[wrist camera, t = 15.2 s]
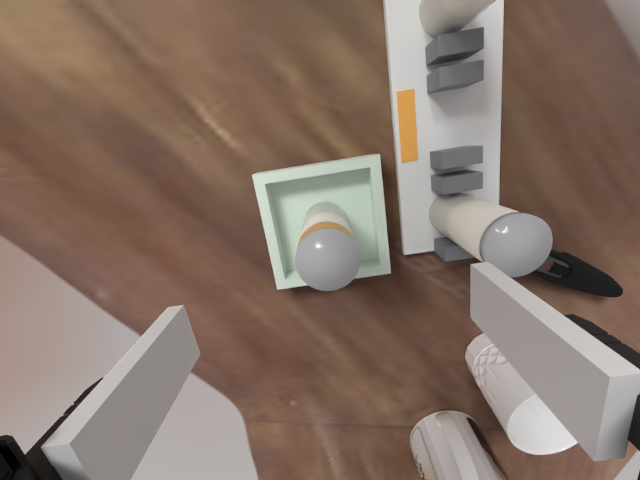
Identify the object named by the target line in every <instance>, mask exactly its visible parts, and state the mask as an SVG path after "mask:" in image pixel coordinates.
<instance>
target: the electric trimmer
mask: <svg viewBox="0 0 640 480" xmlns="http://www.w3.org/2000/svg"><path fill="white" fill-rule="evenodd" d="M531 274H534V275H537V276H540V277H542V278H544V279H545V280H546V281H548V282H551V283H554V284H558V285H561V286H565V287H568V288H572V289H575V290H579V291H583V292H586V293H590V294H594V295H600V296H607V297H619V296H621V295H622V293H623V289H622V288H621V286H620V285H619V284H618V283H617V282H616V281H615V280H614V279H613V278H612V277H610V276H609V275H607V274H605V273H604V272H602V271H600V270H598V269H596V268H594V267H593V266H591V265H589V264H587V263H585V262H584V261H582V260H580V259H578V258H576V257H574V256H572V255H570V254H568V253H565V252H562V253H559V252H556V251H553V250H551V251H550V253H549V255H548V257H547V259H546V260H545V261H544V263H543V264H542V265H541V266H540V267H538V268H537V269H536V270H534V271H533V272H531Z"/></svg>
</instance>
